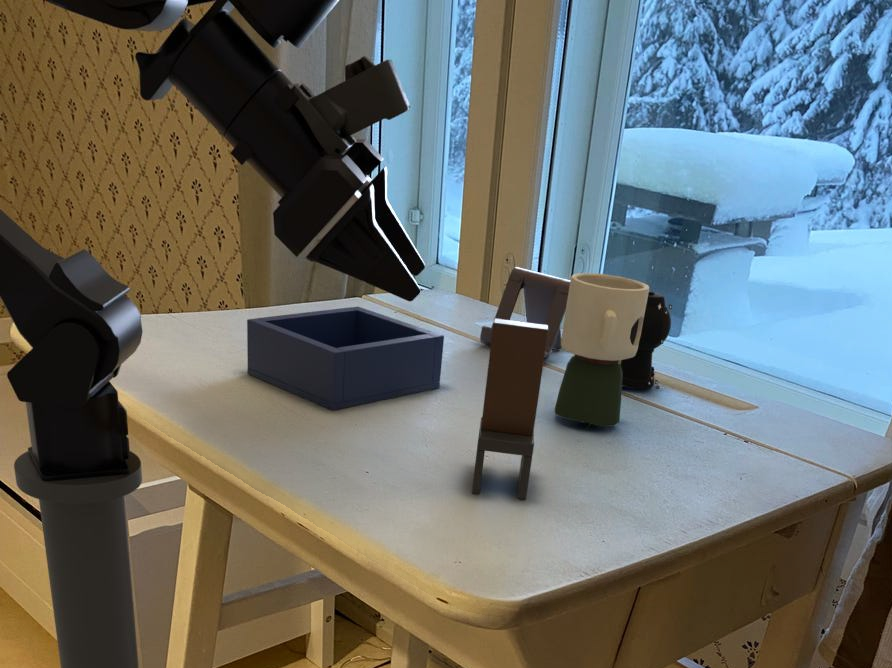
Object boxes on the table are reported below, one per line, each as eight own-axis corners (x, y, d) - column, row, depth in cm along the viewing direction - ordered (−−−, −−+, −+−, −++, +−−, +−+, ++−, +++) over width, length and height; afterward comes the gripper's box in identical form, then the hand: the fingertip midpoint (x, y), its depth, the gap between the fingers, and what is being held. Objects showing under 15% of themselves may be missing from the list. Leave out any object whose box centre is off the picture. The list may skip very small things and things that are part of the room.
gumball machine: (672, 393, 105) (693, 298, 100) (632, 398, 102) (652, 300, 96) (631, 375, 109) (649, 283, 104) (591, 379, 106) (608, 284, 101)
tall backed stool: (471, 493, 74) (491, 328, 68) (474, 470, 78) (493, 312, 72) (525, 500, 74) (550, 335, 68) (526, 476, 78) (549, 319, 72)
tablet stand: (477, 344, 113) (486, 270, 109) (515, 336, 119) (524, 265, 115) (539, 363, 109) (551, 287, 105) (575, 354, 115) (587, 281, 111)
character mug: (628, 445, 88) (658, 298, 81) (551, 436, 88) (575, 288, 81) (616, 408, 97) (641, 274, 91) (546, 400, 97) (567, 265, 91)
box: (332, 410, 87) (334, 352, 84) (247, 373, 93) (246, 319, 91) (439, 387, 97) (444, 335, 94) (355, 356, 103) (357, 306, 101)
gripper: (315, -2, 53) (505, 219, 59) (349, 12, 69) (496, 185, 75) (190, 151, 57) (380, 345, 63) (249, 132, 73) (397, 287, 79)
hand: (418, 283), depth 70 cm, fingers open, 9 cm apart
